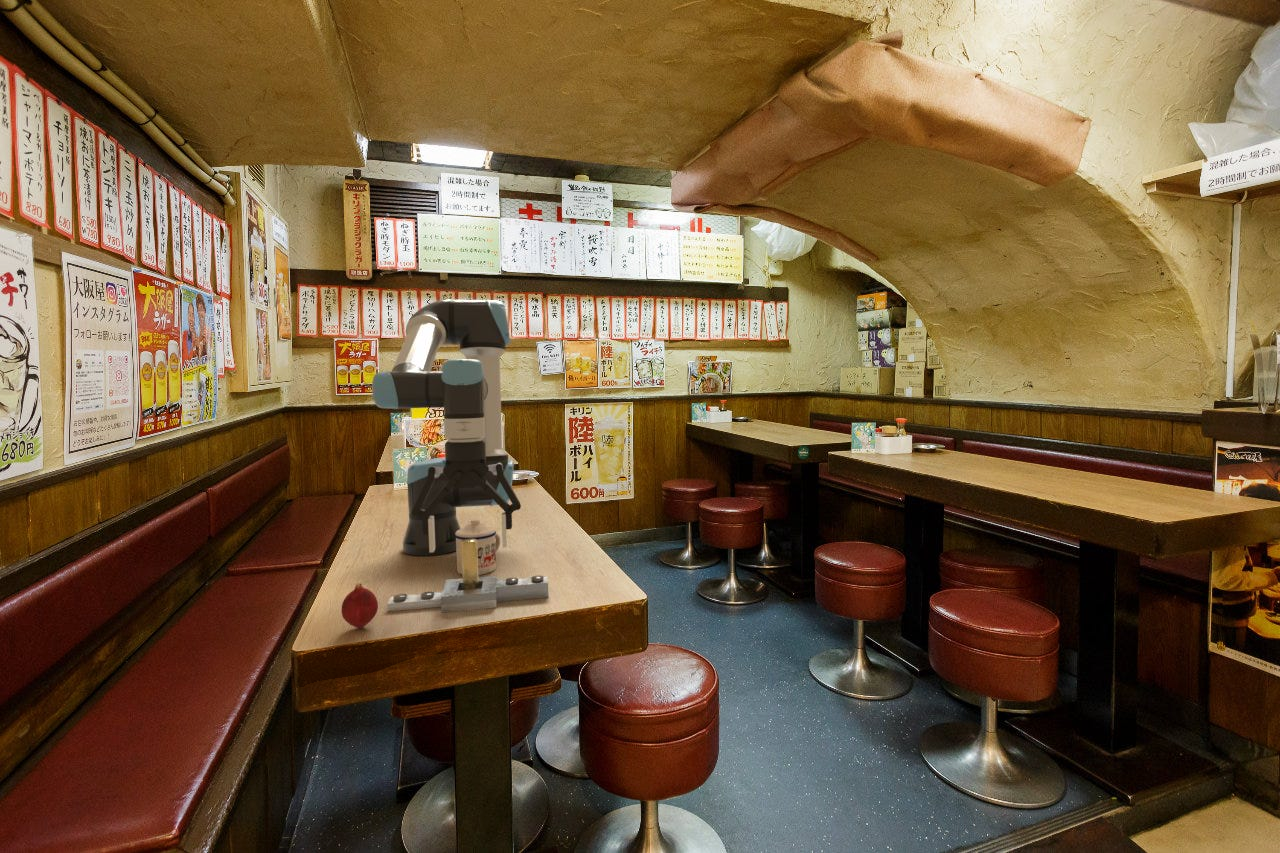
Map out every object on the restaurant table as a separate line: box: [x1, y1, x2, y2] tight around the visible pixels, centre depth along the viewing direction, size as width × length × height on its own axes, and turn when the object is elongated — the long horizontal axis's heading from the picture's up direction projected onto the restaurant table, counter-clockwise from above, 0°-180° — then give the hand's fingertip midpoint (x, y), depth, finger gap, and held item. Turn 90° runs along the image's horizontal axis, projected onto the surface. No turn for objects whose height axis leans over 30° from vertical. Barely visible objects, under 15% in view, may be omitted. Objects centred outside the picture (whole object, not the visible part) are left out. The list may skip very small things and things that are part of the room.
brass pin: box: [461, 539, 479, 590], centre depth 116 cm, size 3×3×12 cm
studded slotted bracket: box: [386, 575, 549, 613], centre depth 117 cm, size 10×30×4 cm, turn 102°
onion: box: [341, 582, 379, 629], centre depth 104 cm, size 6×6×8 cm
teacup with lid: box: [455, 518, 501, 576], centre depth 137 cm, size 12×9×12 cm
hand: (469, 548), depth 116 cm, fingers open, 13 cm apart
